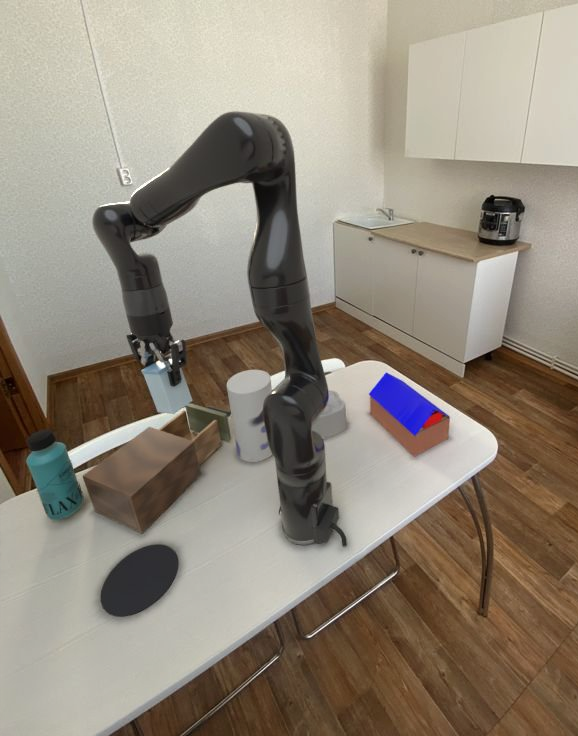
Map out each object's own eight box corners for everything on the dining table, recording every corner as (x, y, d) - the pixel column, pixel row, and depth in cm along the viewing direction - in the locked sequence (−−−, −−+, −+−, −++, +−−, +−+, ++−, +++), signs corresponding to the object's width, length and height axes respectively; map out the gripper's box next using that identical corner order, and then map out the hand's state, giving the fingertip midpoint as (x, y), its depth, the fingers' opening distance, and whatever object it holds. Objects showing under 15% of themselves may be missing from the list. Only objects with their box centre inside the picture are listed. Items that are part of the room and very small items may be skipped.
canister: (193, 400, 83) (179, 359, 80) (174, 414, 78) (158, 371, 76) (176, 398, 85) (162, 358, 82) (157, 412, 81) (140, 370, 78)
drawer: (205, 417, 107) (200, 393, 104) (241, 428, 102) (238, 404, 100) (147, 466, 90) (140, 439, 88) (187, 481, 86) (181, 453, 83)
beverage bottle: (42, 530, 76) (9, 450, 69) (57, 502, 82) (28, 427, 75) (79, 521, 78) (50, 443, 71) (92, 495, 84) (66, 421, 77)
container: (268, 465, 91) (259, 394, 84) (229, 459, 93) (218, 390, 86) (284, 436, 100) (277, 371, 93) (249, 432, 102) (239, 367, 95)
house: (402, 399, 115) (402, 366, 110) (449, 439, 99) (453, 401, 95) (368, 413, 109) (368, 378, 105) (414, 458, 93) (415, 418, 89)
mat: (192, 558, 70) (192, 557, 70) (135, 629, 60) (134, 628, 60) (145, 536, 75) (145, 535, 75) (84, 599, 64) (83, 597, 64)
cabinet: (157, 458, 94) (149, 426, 90) (201, 475, 89) (194, 441, 85) (94, 511, 80) (82, 475, 77) (142, 534, 75) (130, 496, 72)
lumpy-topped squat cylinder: (350, 430, 102) (349, 403, 99) (303, 446, 97) (301, 418, 94) (335, 408, 111) (333, 383, 108) (291, 422, 106) (289, 395, 103)
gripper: (104, 309, 74) (125, 384, 80) (157, 319, 68) (176, 398, 74) (138, 296, 80) (155, 366, 86) (190, 304, 75) (204, 378, 81)
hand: (165, 381), depth 80 cm, fingers closed on canister, 5 cm apart
